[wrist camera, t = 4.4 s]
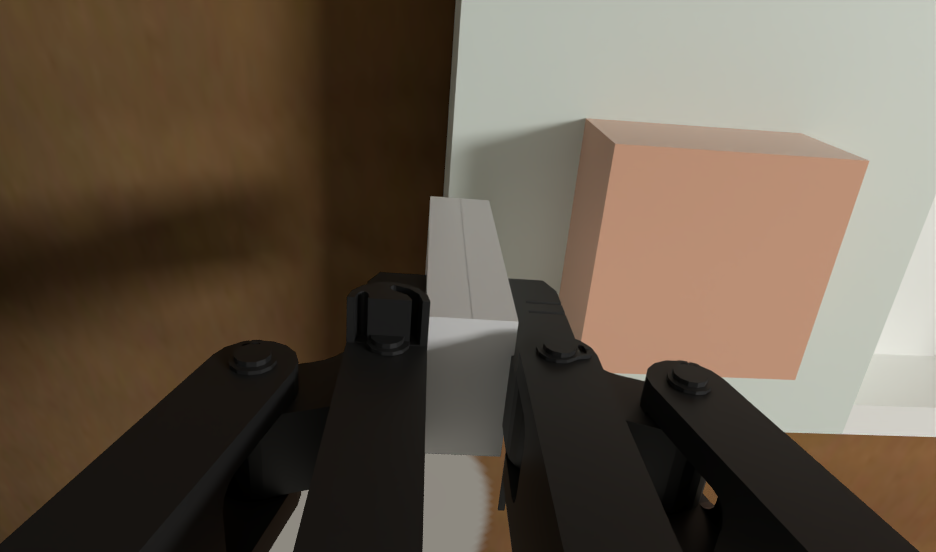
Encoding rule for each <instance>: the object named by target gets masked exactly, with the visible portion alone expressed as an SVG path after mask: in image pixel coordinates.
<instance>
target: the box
mask: <svg viewBox="0 0 936 552" xmlns="http://www.w3.org/2000/svg"><path fill="white" fill-rule="evenodd" d="M842 434H858V435H890V436H923V437H936V195H935V198H934V200H933V203H932V205H931V208H930V210H929V213H928V216H927V218H926V221H925V223H924V226H923V228H922V231H921V233H920V236H919V239H918V241H917V244H916V246H915V249H914V251H913V254H912V256H911V259H910V262H909V264H908V267H907V269H906V272H905V274H904V277H903V279H902V282H901V285H900V287H899V290H898V292H897V295H896V297H895V300H894V302H893V305H892V308H891V310H890V313H889V315H888V318H887V320H886V323H885V325H884V328H883V331H882V333H881V336H880V338H879V341H878V343H877V346H876V348H875V351H874V354H873V356H872V359H871V361H870V364H869V366H868V369H867V371H866V374H865V377H864V379H863V382H862V384H861V387H860V389H859V392H858V394H857V397H856V400H855V402H854V405H853V407H852V410H851V412H850V415H849V417H848V420H847V423H846V425H845V428H844V430H843V433H842Z"/></svg>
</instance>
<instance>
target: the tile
mask: <svg viewBox="0 0 936 552" xmlns="http://www.w3.org/2000/svg"><path fill="white" fill-rule="evenodd" d="M868 164H869V160H866V159H864V158H862V157H859V156H857V155H854V154H852V153H849V152H847V151H844V150H842V149H839V148H837V147H834V146H832V145H829V144H827V143H824V142H822V141H819V140H817V139H814V138H812V137H809V136H807V135H805V134H802V133H791V132H777V131H762V130H748V129H734V128H720V127H705V126H691V125H677V124H662V123H648V122H634V121H619V120H605V119H591V118H586V120H585V127H584V133H583V140H582V146H581V153H580V160H579V166H578V173H577V180H576V186H575V193H574V199H573V206H572V213H571V219H570V226H569V233H568V239H567V246H566V252H565V259H564V266H563V272H562V279H561V285H560V292H559V299H560V301H561V305H562V307H563V309H564V312H565V315H566V317H567V319H568V322H569V324H570V327H571V329H572V332H573V334H574V337H575V339H577V340H580V341H582V342H583V343H585V344H587V345H588V346H590V347H591V348H592V349H593V350H594V352H595V353H596V354H597V355H598V358H599V360H600V362H601V365H602V367H603V369H604V370H606V371H608V372H611V373H622V374H646V373H647V369H648V368H649V367H650V366H651V365H653V364H654V363H657V362H661V361H665V360H671V361H678V360H682V361H687V362H688V363H689V362H692V363H696V364H699V365H700V366H702V367H704V368H706V369H709V370H711V371H713V372H714V373H716V374H717V375H719V376H720V377H728V378H755V379H781V380H795V379H796V376H797V373H798V370H799V367H800V364H801V361H802V358H803V355H804V352H805V349H806V346H807V344H808V341H809V338H810V335H811V332H812V329H813V326H814V323H815V320H816V317H817V314H818V311H819V308H820V305H821V302H822V299H823V296H824V293H825V291H826V288H827V285H828V282H829V279H830V276H831V273H832V270H833V267H834V264H835V261H836V258H837V255H838V252H839V249H840V246H841V243H842V240H843V238H844V235H845V232H846V229H847V226H848V223H849V220H850V217H851V214H852V211H853V208H854V205H855V202H856V199H857V196H858V193H859V190H860V187H861V185H862V182H863V179H864V176H865V173H866V170H867V167H868Z"/></svg>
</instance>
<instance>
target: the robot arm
mask: <svg viewBox="0 0 936 552" xmlns="http://www.w3.org/2000/svg"><path fill="white" fill-rule="evenodd" d="M503 435H504V441H505V448H506V454H505V461H504V468H503V476H502V483H501V490H500V497H499V505H498V510H504V509H505V504H506V507H507V515H508V522H509V530H510V538H511V546H512V552H919V551H918V550H917V549H916V548H915V547H914V546H912V545H911V544H910V543H909V542H908V541H907V540H906V539H904V538H903V537H902V536H901V535H900V534H899V533H898V532H897V531H895V530H894V529H893V528H892V527H891V526H890V525H889V524H888V523H886V522H885V521H884V520H883V519H882V518H881V517H880V516H878V515H877V514H876V513H875V512H874V511H873V510H872V509H871V508H869V507H868V506H867V505H866V504H865V503H864V502H863V501H861V500H860V499H859V498H858V497H857V496H856V495H855V494H854V493H852V492H851V491H850V490H849V489H848V488H847V487H846V486H844V485H843V484H842V483H841V482H840V481H839V480H838V479H837V478H835V477H834V476H833V475H832V474H831V473H830V472H829V471H827V470H826V469H825V468H824V467H823V466H822V465H821V464H820V463H818V462H817V461H816V460H815V459H814V458H813V457H812V456H810V455H809V454H808V453H807V452H806V451H805V450H804V449H803V448H801V447H800V446H799V445H798V444H797V443H796V442H795V441H793V440H792V439H791V438H790V437H789V436H788V435H787V434H786V433H784V432H783V431H782V430H781V429H780V428H779V427H778V426H776V425H775V424H774V423H773V422H772V421H771V420H770V419H769V418H767V417H766V416H765V415H764V414H763V413H762V412H761V411H759V410H758V409H757V408H756V407H755V406H754V405H753V404H752V403H750V402H749V401H748V400H747V399H746V398H745V397H744V396H743V395H741V394H740V393H739V392H738V391H737V390H736V389H735V388H733V387H732V386H731V385H730V384H729V383H728V382H727V381H726V380H724V379H723V378H722V377H720V376H719V375H717V374H716V373H714V372H713V371H711V370H709V369H706V368H704V367H702V366H700V365H699V364H696V363H692V362H689V363H688V362H687V361H682V360H678V361H671V360H665V361H661V362H657V363H654V364H653V365H651V366H650V367H649V368H648V369H647V373H646V377H645V381H642V380H638V379H633V378H629V377H625V376H621V375H617V374H614V373H611V372H608V371H606V370H604V369H603V367H602V365H601V362H600V360H599V358H598V355H597V354H596V353H595V352H594V350H593V349H592V348H591V347H590V346H588V345H587V344H585V343H583V342H582V341H580V340H577V339H575V337H574V334H573V332H572V329H571V327H570V324H569V322H568V319H567V317H566V315H565V312H564V309H563V307H562V305H561V301H560V299H559V296H558V294H557V291H555V290H554V289H553V288H552V287H550V286H549V285H548V284H547V283H546V282H544V281H542V280H526V279H510V278H508V276H507V272H506V268H505V264H504V260H503V256H502V252H501V247H500V243H499V239H498V235H497V231H496V227H495V223H494V219H493V215H492V210H491V206H490V202H489V200H477V199H463V198H449V197H435V196H430V209H429V225H428V240H427V255H426V270H425V275H418V274H402V273H386V272H380V273H378V274H377V275H376V276H374V277H373V278H372V279H371V280H369V281H368V283H367V284H366V285H362V286H360V287H358V288H356V289H354V290H352V291H351V292H350V294H349V295H348V296H347V337H346V346H345V350H344V352H343V353H341V354H339V355H337V356H335V357H332V358H329V359H326V360H321V361H316V362H310V363H302V364H298V359H297V356H296V353H295V352H294V351H293V350H292V349H290V348H289V347H288V346H286V345H283V344H280V343H276V342H272V341H262V340H252V341H243V342H240V343H237V344H233V345H230V346H227V347H224V348H223V349H221V350H220V351H218V352H216V353H215V354H213V355H212V356H211V357H210V358H209V359H208V360H206V361H205V362H204V363H203V364H202V365H201V366H200V367H199V368H197V369H196V370H195V371H194V372H193V373H192V374H191V375H190V376H188V377H187V378H186V379H185V380H184V381H183V382H182V383H181V384H179V385H178V386H177V387H176V388H175V389H174V390H173V391H172V392H170V393H169V394H168V395H167V396H166V397H165V398H164V399H163V400H161V401H160V402H159V403H158V404H157V405H156V406H155V407H154V408H152V409H151V410H150V411H149V412H148V413H147V414H146V415H145V416H143V417H142V418H141V419H140V420H139V421H138V422H137V423H136V424H134V425H133V426H132V427H131V428H130V429H129V430H128V431H127V432H125V433H124V434H123V435H122V436H121V437H120V438H119V439H118V440H116V441H115V442H114V443H113V444H112V445H111V446H110V447H109V448H107V449H106V450H105V451H104V452H103V453H102V454H101V455H100V456H98V457H97V458H96V459H95V460H94V461H93V462H92V463H91V464H90V465H88V466H87V467H86V468H85V469H84V470H83V471H82V472H81V473H79V474H78V475H77V476H76V477H75V478H74V479H73V480H72V481H70V482H69V483H68V484H67V485H66V486H65V487H64V488H63V489H61V490H60V491H59V492H58V493H57V494H56V495H55V496H54V497H52V498H51V499H50V500H49V501H48V502H47V503H46V504H45V505H43V506H42V507H41V508H40V509H39V510H38V511H37V512H36V513H34V514H33V515H32V516H31V517H30V518H29V519H28V520H27V521H25V522H24V523H23V524H22V525H21V526H20V527H19V528H18V529H16V530H15V531H14V532H13V533H12V534H11V535H10V536H9V537H7V538H6V539H5V540H4V541H3V542H2V543H1V544H0V552H269V550H270V549H271V547H272V546H273V544H274V542H275V541H276V539H277V537H278V536H279V534H280V532H281V531H282V529H283V528H284V526H285V524H286V523H287V521H288V520H289V518H290V516H291V515H292V513H293V511H294V510H295V508H296V507H297V505H298V502H299V499H300V496H301V491H304V490H309V491H308V495H307V500H306V503H305V507H304V511H303V515H302V519H301V523H300V527H299V531H298V535H297V538H296V543H295V546H294V551H293V552H422V544H423V502H424V463H425V453H429V454H430V453H431V454H454V455H477V456H501V449H502V441H503ZM706 481H707V483H708V484H709V485H710V486H711V487H712V488H713V490H714V491H715V493H716V495H717V496H718V498H717V502H716V504H715V505H713V504H712V503H711V502H710V501H709V500H708V499H707V498H706V497H705V496H704V494H703V490H704V486H705V483H706Z"/></svg>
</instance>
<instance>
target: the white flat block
mask: <svg viewBox="0 0 936 552" xmlns="http://www.w3.org/2000/svg"><path fill="white" fill-rule="evenodd" d="M586 118H591V119H605V120H619V121H634V122H648V123H662V124H677V125H691V126H705V127H720V128H734V129H748V130H762V131H777V132H791V133H802V134H805V135H807V136H809V137H812V138H814V139H817V140H819V141H822V142H824V143H827V144H829V145H832V146H834V147H837V148H839V149H842V150H844V151H847V152H849V153H852V154H854V155H857V156H859V157H862V158H864V159H866V160H869V164H868V167H867V170H866V173H865V176H864V179H863V182H862V185H861V187H860V190H859V193H858V196H857V199H856V202H855V205H854V208H853V211H852V214H851V217H850V220H849V223H848V226H847V229H846V232H845V235H844V238H843V240H842V243H841V246H840V249H839V252H838V255H837V258H836V261H835V264H834V267H833V270H832V273H831V276H830V279H829V282H828V285H827V288H826V291H825V293H824V296H823V299H822V302H821V305H820V308H819V311H818V314H817V317H816V320H815V323H814V326H813V329H812V332H811V335H810V338H809V341H808V344H807V346H806V349H805V352H804V355H803V358H802V361H801V364H800V367H799V370H798V373H797V376H796V379H795V380H781V379H755V378H728V377H722V378H723V379H724V380H726V381H727V382H728V383H729V384H730V385H731V386H732V387H733V388H735V389H736V390H737V391H738V392H739V393H740V394H741V395H743V396H744V397H745V398H746V399H747V400H748V401H749V402H750V403H752V404H753V405H754V406H755V407H756V408H757V409H758V410H759V411H761V412H762V413H763V414H764V415H765V416H766V417H767V418H769V419H770V420H771V421H772V422H773V423H774V424H775V425H776V426H778V427H779V428H780V429H781V430H782V431H783V432H793V433H826V434H842V433H843V430H844V428H845V425H846V423H847V420H848V417H849V415H850V412H851V410H852V407H853V405H854V402H855V400H856V397H857V394H858V392H859V389H860V387H861V384H862V382H863V379H864V377H865V374H866V371H867V369H868V366H869V364H870V361H871V359H872V356H873V354H874V351H875V348H876V346H877V343H878V341H879V338H880V336H881V333H882V331H883V328H884V325H885V323H886V320H887V318H888V315H889V313H890V310H891V308H892V305H893V302H894V300H895V297H896V295H897V292H898V290H899V287H900V285H901V282H902V279H903V277H904V274H905V272H906V269H907V267H908V264H909V262H910V259H911V256H912V254H913V251H914V249H915V246H916V244H917V241H918V239H919V236H920V233H921V231H922V228H923V226H924V223H925V221H926V218H927V216H928V213H929V210H930V208H931V205H932V203H933V200H934V198H935V195H936V0H456V5H455V20H454V36H453V51H452V67H451V83H450V98H449V114H448V129H447V145H446V161H445V176H444V192H443V197H449V198H463V199H477V200H489V202H490V206H491V210H492V215H493V219H494V223H495V227H496V231H497V235H498V239H499V243H500V247H501V252H502V256H503V260H504V264H505V268H506V272H507V276H508V278H510V279H526V280H542V281H544V282H546V283H547V284H548V285H549V286H550V287H552V288H553V289H554V290H555V291H557V294H558V296H559V292H560V285H561V279H562V272H563V266H564V259H565V252H566V246H567V239H568V233H569V226H570V219H571V213H572V206H573V199H574V193H575V186H576V180H577V173H578V166H579V160H580V153H581V146H582V140H583V133H584V127H585V120H586ZM614 374H617V375H621V376H625V377H629V378H633V379H638V380H642V381H645V377H646V374H622V373H614Z"/></svg>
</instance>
